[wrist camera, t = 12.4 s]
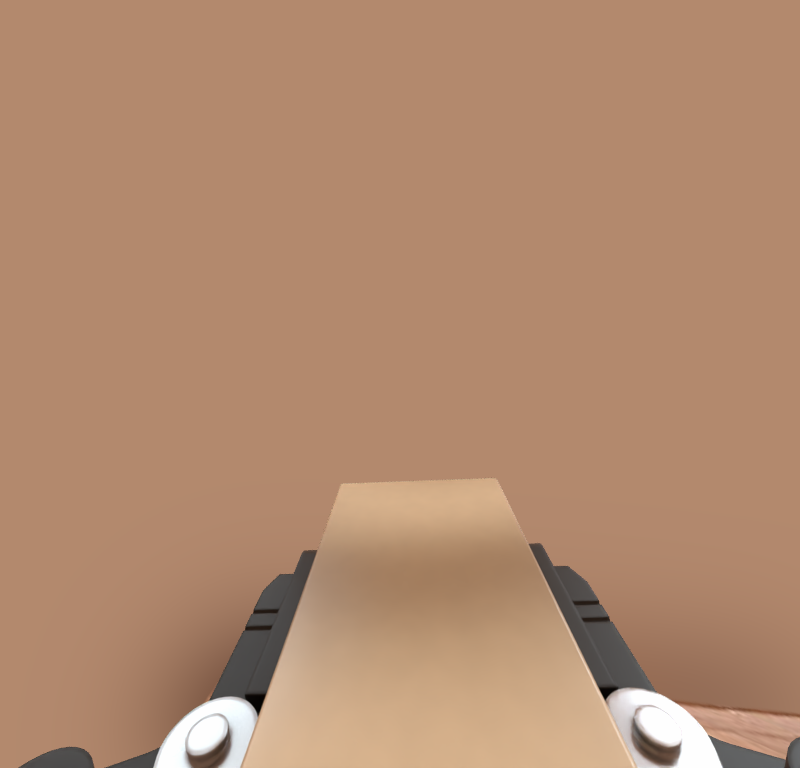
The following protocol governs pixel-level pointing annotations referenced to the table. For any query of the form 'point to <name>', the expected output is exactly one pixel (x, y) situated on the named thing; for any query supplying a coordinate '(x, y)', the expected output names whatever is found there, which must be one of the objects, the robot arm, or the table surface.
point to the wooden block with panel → (430, 645)
